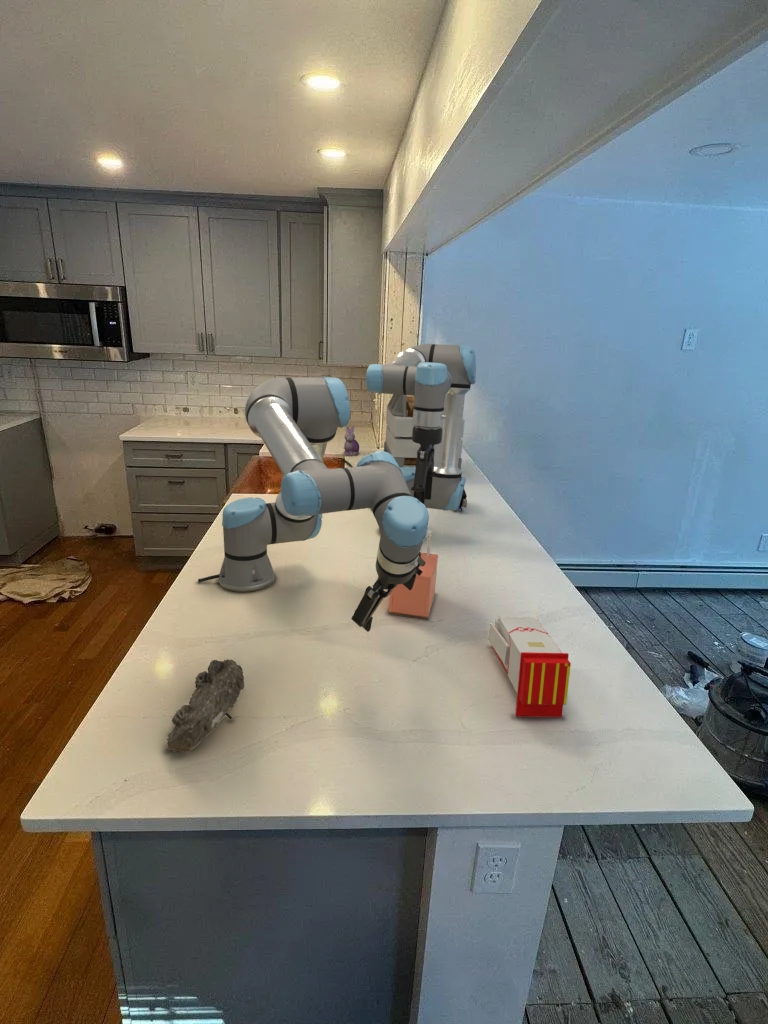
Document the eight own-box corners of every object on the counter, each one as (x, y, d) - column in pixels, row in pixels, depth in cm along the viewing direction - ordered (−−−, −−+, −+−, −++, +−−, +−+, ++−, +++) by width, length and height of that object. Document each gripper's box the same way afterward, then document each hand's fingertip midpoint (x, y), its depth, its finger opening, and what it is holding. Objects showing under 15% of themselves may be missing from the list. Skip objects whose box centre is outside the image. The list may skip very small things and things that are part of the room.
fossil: (192, 660, 117) (244, 628, 112) (224, 691, 120) (276, 661, 115) (142, 746, 98) (202, 712, 93) (182, 779, 101) (242, 748, 96)
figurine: (347, 456, 298) (347, 428, 293) (339, 452, 307) (339, 424, 302) (363, 455, 303) (364, 427, 298) (355, 450, 311) (356, 423, 306)
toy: (534, 602, 136) (579, 659, 107) (529, 653, 139) (572, 723, 110) (484, 601, 136) (516, 658, 107) (480, 652, 139) (510, 722, 109)
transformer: (382, 463, 289) (386, 382, 275) (445, 464, 293) (451, 384, 279) (390, 482, 257) (394, 392, 243) (460, 483, 261) (468, 394, 247)
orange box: (401, 552, 157) (403, 524, 154) (438, 557, 155) (440, 529, 152) (390, 575, 144) (392, 544, 141) (430, 580, 142) (433, 549, 139)
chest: (399, 589, 160) (401, 553, 157) (434, 594, 158) (437, 558, 155) (388, 614, 147) (390, 575, 144) (427, 619, 145) (430, 580, 142)
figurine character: (467, 516, 223) (461, 500, 237) (469, 499, 220) (463, 483, 233) (450, 516, 223) (446, 499, 236) (452, 498, 220) (447, 483, 233)
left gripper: (365, 615, 98) (358, 657, 116) (454, 530, 110) (435, 580, 127) (335, 588, 101) (332, 632, 118) (424, 507, 112) (410, 559, 130)
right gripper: (436, 438, 130) (429, 524, 137) (448, 419, 153) (442, 494, 160) (403, 435, 131) (399, 521, 138) (420, 417, 154) (415, 491, 161)
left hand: (386, 605), depth 123 cm, fingers open, 13 cm apart
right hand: (422, 506), depth 149 cm, fingers open, 13 cm apart
